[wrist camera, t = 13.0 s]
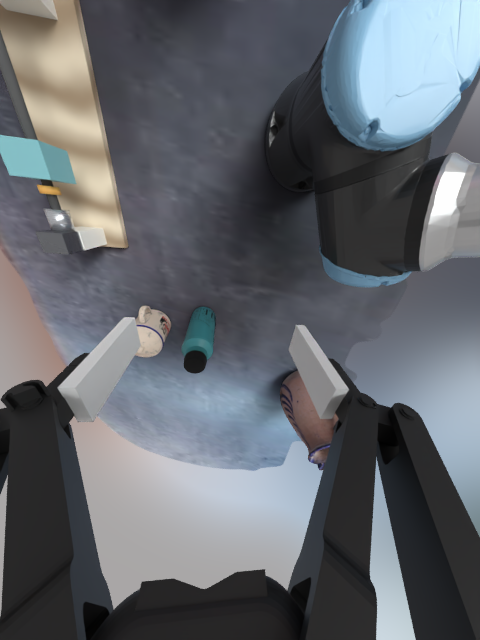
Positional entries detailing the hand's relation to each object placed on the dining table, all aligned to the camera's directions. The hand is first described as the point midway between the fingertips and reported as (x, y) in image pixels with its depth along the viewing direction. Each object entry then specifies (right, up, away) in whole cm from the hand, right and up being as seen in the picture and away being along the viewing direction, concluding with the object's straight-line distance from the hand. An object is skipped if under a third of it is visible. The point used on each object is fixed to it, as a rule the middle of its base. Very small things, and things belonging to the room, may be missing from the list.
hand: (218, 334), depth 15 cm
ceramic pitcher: (+23, -18, +50) cm, 58 cm away
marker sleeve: (-27, +25, +13) cm, 38 cm away
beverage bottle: (-8, +3, +35) cm, 36 cm away
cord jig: (-27, +31, +16) cm, 44 cm away
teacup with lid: (-21, +2, +34) cm, 41 cm away
